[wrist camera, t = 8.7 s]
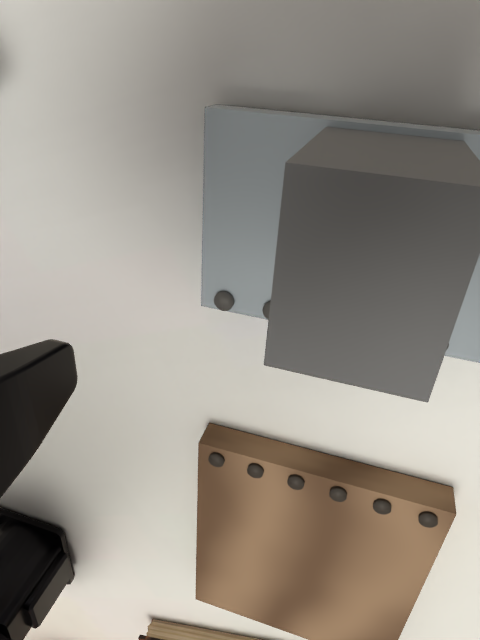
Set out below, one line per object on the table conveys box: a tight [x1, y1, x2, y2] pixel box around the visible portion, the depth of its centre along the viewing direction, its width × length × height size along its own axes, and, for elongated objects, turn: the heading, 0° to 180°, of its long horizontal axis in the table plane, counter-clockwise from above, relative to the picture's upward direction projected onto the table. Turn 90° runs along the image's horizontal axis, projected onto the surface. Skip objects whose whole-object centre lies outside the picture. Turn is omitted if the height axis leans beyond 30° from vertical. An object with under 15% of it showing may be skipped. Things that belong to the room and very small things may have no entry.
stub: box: [201, 105, 480, 402], centre depth 13 cm, size 12×7×7 cm, turn 86°
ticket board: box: [196, 423, 456, 640], centre depth 25 cm, size 12×14×2 cm
